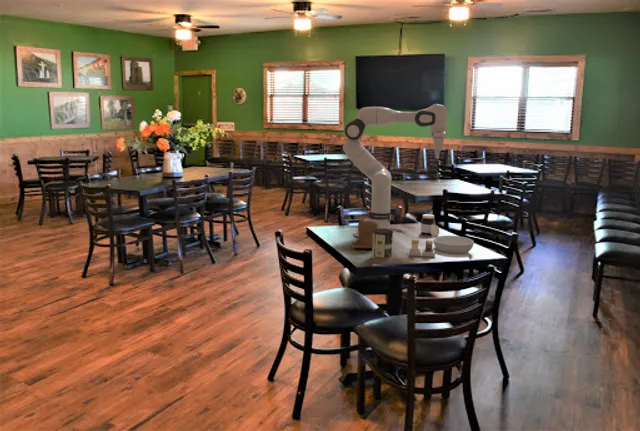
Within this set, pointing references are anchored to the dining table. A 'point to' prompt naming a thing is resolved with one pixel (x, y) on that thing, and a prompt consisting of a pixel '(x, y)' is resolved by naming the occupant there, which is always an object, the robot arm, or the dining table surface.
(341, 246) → the dining table surface
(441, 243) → the serving bowl
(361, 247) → the wooden napkin holder
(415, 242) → the fuse
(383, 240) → the coffee can
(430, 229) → the spread jar
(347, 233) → the dining table surface
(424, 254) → the fuse block
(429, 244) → the fuse
